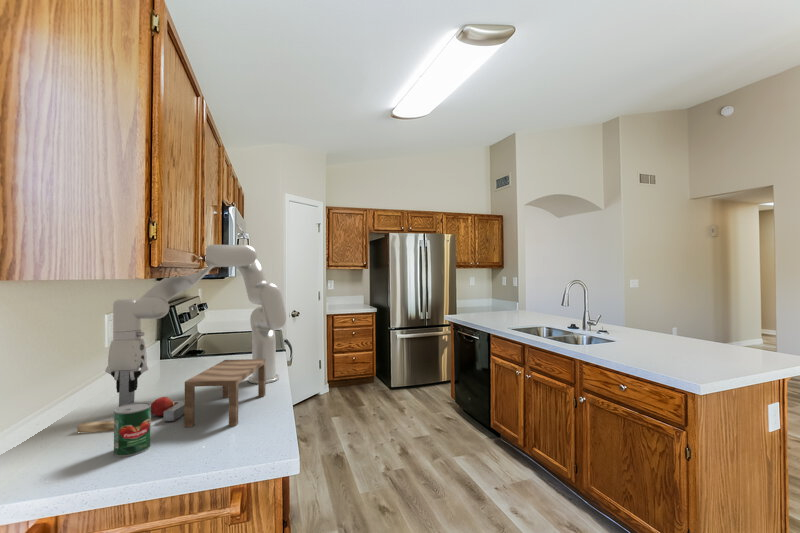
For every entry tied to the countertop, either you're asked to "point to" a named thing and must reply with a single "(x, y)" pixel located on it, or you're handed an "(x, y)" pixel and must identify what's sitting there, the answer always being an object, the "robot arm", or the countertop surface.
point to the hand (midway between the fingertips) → (126, 390)
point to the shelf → (224, 385)
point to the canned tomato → (132, 429)
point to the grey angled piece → (128, 398)
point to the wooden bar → (96, 426)
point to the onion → (161, 406)
